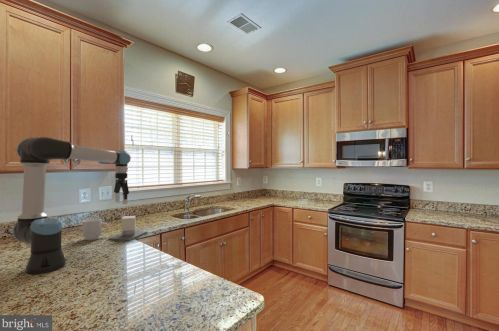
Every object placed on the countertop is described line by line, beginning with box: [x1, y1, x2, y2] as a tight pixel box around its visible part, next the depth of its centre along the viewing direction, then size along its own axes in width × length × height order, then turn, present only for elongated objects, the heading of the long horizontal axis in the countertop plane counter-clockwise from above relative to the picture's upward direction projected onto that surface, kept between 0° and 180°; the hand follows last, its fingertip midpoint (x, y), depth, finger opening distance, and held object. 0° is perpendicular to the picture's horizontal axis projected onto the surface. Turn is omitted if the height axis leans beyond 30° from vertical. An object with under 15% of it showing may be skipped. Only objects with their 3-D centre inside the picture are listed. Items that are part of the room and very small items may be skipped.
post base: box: [107, 229, 148, 242], centre depth 174 cm, size 20×16×10 cm
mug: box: [82, 218, 109, 242], centre depth 168 cm, size 15×11×13 cm
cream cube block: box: [120, 215, 137, 232], centre depth 174 cm, size 8×8×8 cm
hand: (121, 203), depth 172 cm, fingers open, 13 cm apart
